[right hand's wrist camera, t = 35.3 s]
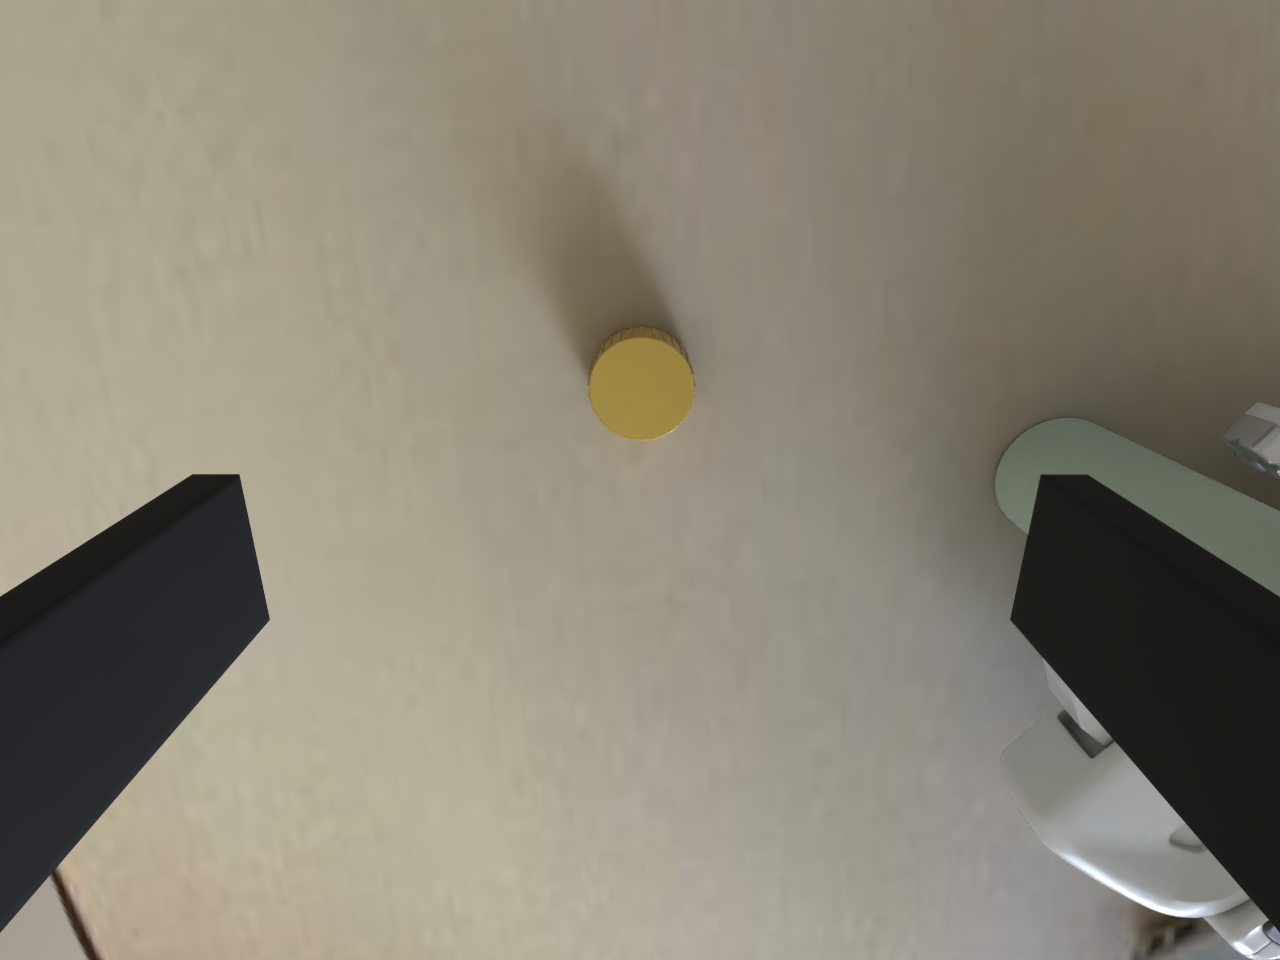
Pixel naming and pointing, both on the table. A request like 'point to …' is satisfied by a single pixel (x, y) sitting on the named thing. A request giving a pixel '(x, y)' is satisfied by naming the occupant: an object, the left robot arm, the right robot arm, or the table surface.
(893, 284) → the table surface
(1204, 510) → the bottle
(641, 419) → the cap
